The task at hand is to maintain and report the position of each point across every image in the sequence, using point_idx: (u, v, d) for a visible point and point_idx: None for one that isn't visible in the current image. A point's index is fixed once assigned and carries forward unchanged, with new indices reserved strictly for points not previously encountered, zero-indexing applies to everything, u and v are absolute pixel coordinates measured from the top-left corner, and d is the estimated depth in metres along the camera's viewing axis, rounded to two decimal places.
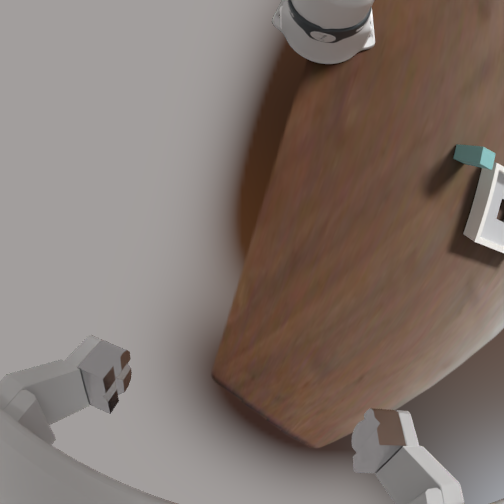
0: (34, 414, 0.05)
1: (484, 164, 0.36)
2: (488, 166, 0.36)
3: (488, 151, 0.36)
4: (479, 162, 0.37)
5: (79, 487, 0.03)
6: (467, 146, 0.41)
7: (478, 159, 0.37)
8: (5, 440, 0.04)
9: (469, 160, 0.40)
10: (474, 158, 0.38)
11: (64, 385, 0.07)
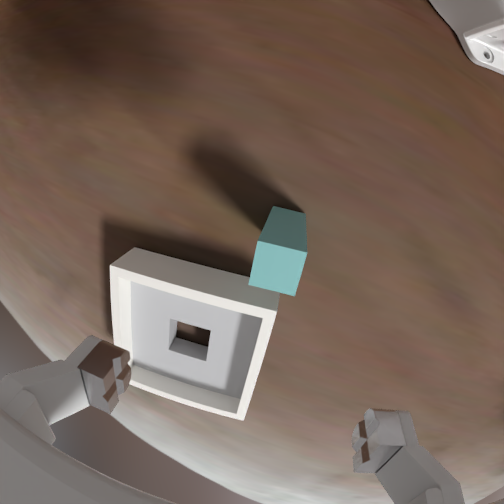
0: (34, 414, 0.05)
1: (258, 257, 0.18)
2: (255, 272, 0.19)
3: (296, 271, 0.18)
4: (261, 240, 0.18)
5: (79, 487, 0.03)
6: (303, 226, 0.23)
7: (270, 239, 0.19)
8: (5, 440, 0.04)
9: (268, 224, 0.21)
10: (272, 232, 0.20)
11: (64, 385, 0.07)
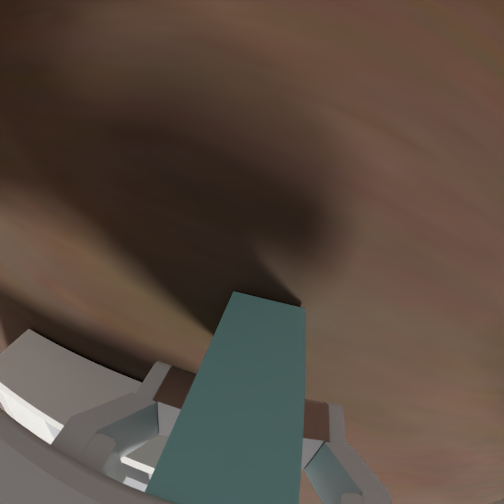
0: (113, 459, 0.05)
1: None
2: None
3: None
4: None
5: (79, 487, 0.03)
6: (297, 386, 0.08)
7: None
8: (5, 440, 0.04)
9: (190, 411, 0.06)
10: (191, 467, 0.05)
11: (138, 420, 0.07)
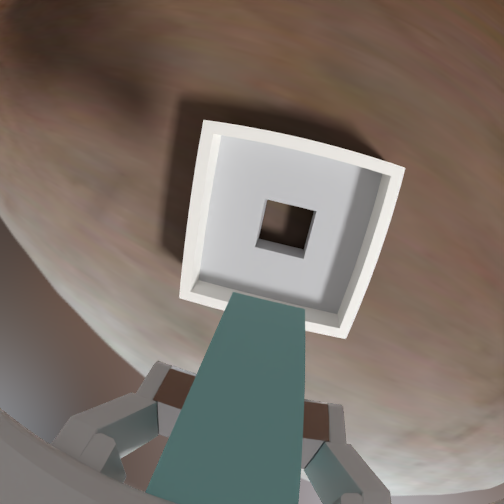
0: (113, 459, 0.05)
1: None
2: None
3: None
4: None
5: (79, 487, 0.03)
6: (297, 387, 0.08)
7: None
8: (5, 440, 0.04)
9: (189, 413, 0.06)
10: (190, 469, 0.05)
11: (138, 420, 0.07)
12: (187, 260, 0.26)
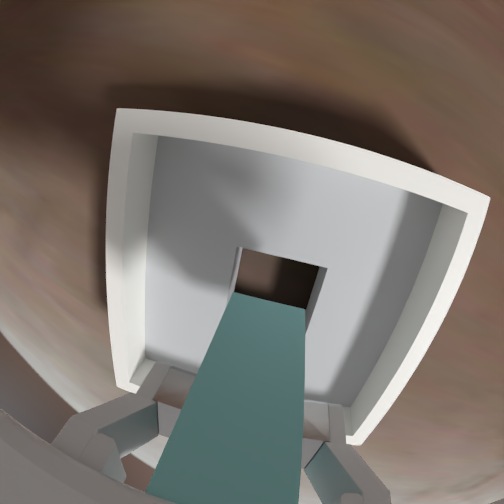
0: (113, 459, 0.05)
1: None
2: None
3: None
4: None
5: (79, 487, 0.03)
6: (297, 387, 0.08)
7: None
8: (5, 440, 0.04)
9: (189, 413, 0.06)
10: (190, 469, 0.05)
11: (138, 420, 0.07)
12: (116, 342, 0.15)
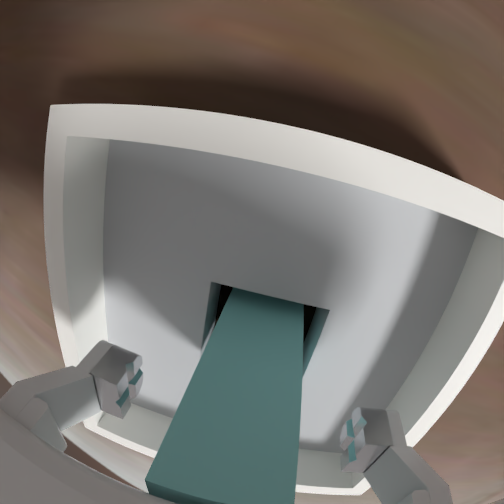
0: (46, 422, 0.05)
1: None
2: None
3: None
4: (157, 475, 0.05)
5: (79, 487, 0.03)
6: (296, 352, 0.09)
7: (186, 464, 0.05)
8: (5, 440, 0.04)
9: (202, 372, 0.08)
10: (203, 417, 0.06)
11: (76, 391, 0.07)
12: None
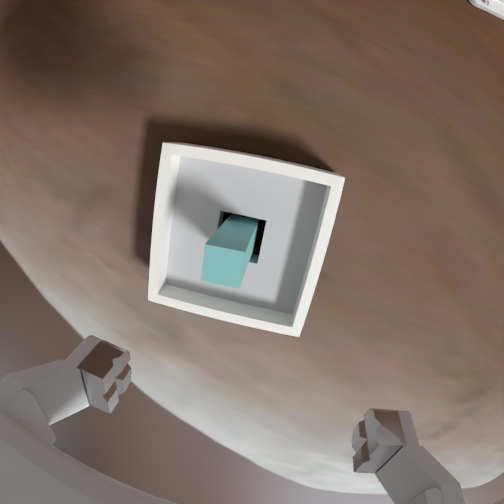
0: (34, 414, 0.05)
1: (206, 257, 0.22)
2: (205, 269, 0.23)
3: (238, 268, 0.22)
4: (208, 243, 0.22)
5: (79, 487, 0.03)
6: (251, 230, 0.27)
7: (216, 242, 0.23)
8: (5, 440, 0.04)
9: (219, 231, 0.25)
10: (220, 237, 0.24)
11: (64, 385, 0.07)
12: (153, 266, 0.29)
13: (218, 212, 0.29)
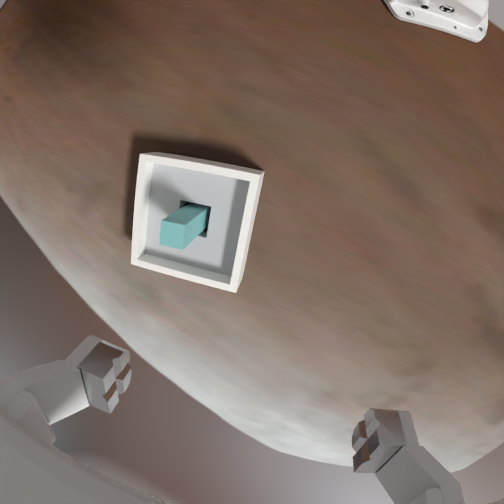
0: (34, 414, 0.05)
1: (162, 229, 0.34)
2: (162, 237, 0.34)
3: (181, 235, 0.34)
4: (163, 220, 0.34)
5: (79, 487, 0.03)
6: (198, 213, 0.38)
7: (168, 219, 0.34)
8: (5, 440, 0.04)
9: (174, 213, 0.37)
10: (173, 216, 0.35)
11: (64, 385, 0.07)
12: (134, 239, 0.41)
13: (179, 201, 0.40)
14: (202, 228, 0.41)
